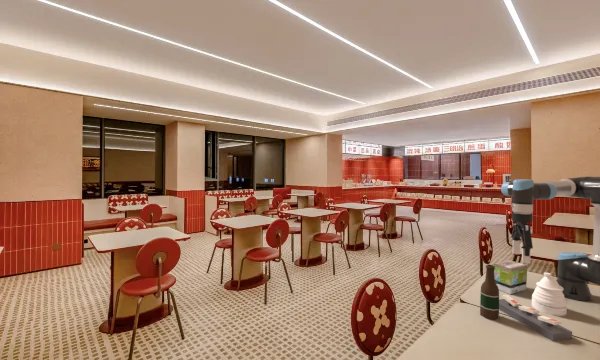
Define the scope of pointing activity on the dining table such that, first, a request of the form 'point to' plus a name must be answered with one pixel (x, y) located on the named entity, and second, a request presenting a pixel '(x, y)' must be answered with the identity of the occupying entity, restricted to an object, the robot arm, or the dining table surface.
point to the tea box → (510, 276)
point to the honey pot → (549, 296)
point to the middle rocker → (528, 309)
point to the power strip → (535, 322)
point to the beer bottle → (489, 295)
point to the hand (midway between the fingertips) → (520, 258)
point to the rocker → (511, 300)
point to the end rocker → (549, 320)
